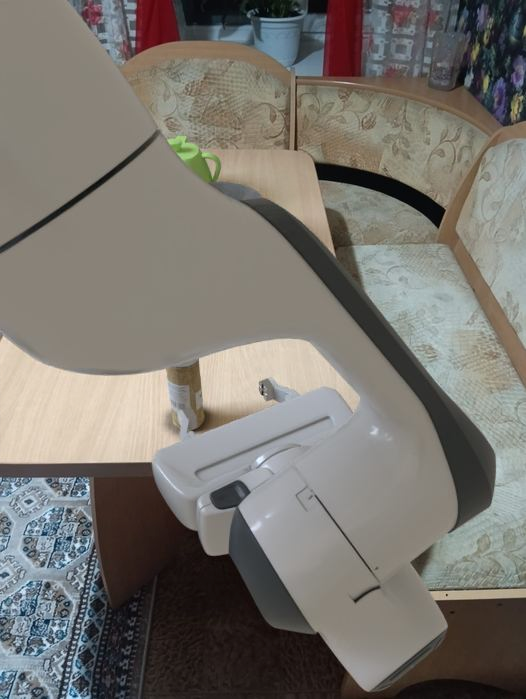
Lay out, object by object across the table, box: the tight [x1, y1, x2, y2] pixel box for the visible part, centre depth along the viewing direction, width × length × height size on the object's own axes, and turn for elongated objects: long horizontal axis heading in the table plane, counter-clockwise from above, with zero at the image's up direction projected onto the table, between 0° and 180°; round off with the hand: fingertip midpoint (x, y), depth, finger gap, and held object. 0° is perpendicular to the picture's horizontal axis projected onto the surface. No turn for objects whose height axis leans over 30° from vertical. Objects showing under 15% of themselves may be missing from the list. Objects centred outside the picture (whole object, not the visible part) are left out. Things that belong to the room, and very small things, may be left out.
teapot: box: [167, 135, 222, 182], centre depth 124 cm, size 19×20×14 cm
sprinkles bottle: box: [165, 358, 205, 430], centre depth 71 cm, size 5×5×14 cm
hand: (225, 397), depth 57 cm, fingers open, 8 cm apart
